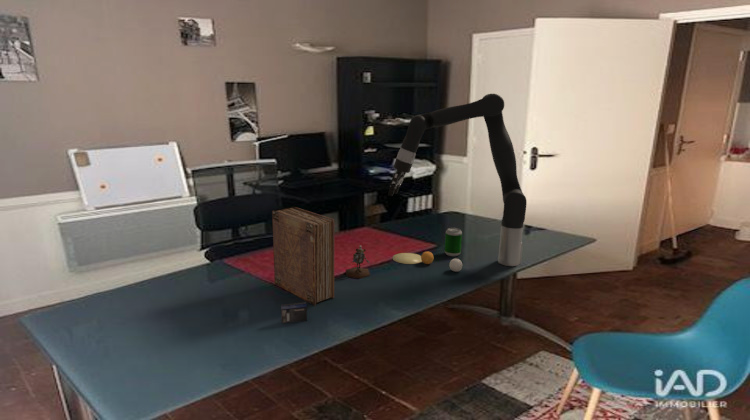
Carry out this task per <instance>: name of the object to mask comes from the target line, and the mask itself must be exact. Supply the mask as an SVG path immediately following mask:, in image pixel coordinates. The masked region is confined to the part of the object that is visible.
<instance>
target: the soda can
mask: <svg viewBox="0 0 750 420" xmlns="http://www.w3.org/2000/svg"><path fill="white" fill-rule="evenodd" d="M462 239H463V231H462V229H460V228H457V227H449V228H447V230H445V240H444V253H445V254H446V255H447V256H448V257H458V256H459V255H460V254H461V252H462Z"/></svg>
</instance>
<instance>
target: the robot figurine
mask: <svg viewBox="0 0 750 420" xmlns="http://www.w3.org/2000/svg"><path fill="white" fill-rule="evenodd" d="M365 252H366V249H363V248H362V245H359V247H358V248H355V252H354V253H353V254H352V255H353V258H352V260H351V261H352V263H355V264H356V267H351V268H347V269H345V274H346V277H348V278H352V279H357V280H358V279H359V280H360V279H363V278H367V277H370V276H371V273H370V271H369V269H368V268H365V267H364V268H363V267H361V264H363V263H364V261H366V262H367V264H370V262H371V261H370V260H368V259H367V258H366V253H365Z"/></svg>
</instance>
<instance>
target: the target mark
mask: <svg viewBox="0 0 750 420" xmlns="http://www.w3.org/2000/svg"><path fill="white" fill-rule="evenodd" d="M392 260H393V261H394V262H396V263H399V264H405V265H415V264H420V263H423V262H422V260H421V255H420V254H417V253H413V252H401V253H397V254H394V255H393V256H392Z"/></svg>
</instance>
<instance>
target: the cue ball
mask: <svg viewBox="0 0 750 420" xmlns="http://www.w3.org/2000/svg"><path fill="white" fill-rule="evenodd" d="M449 261H450V262H449V264H448V265H449V269H450V270H451V271H453V272H456V273H457V272H458V273H459V272H460V271H461V270H462V269H463V263H462V262H463V261H462V260H460V259H459V258H453V259H451V260H449Z"/></svg>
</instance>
